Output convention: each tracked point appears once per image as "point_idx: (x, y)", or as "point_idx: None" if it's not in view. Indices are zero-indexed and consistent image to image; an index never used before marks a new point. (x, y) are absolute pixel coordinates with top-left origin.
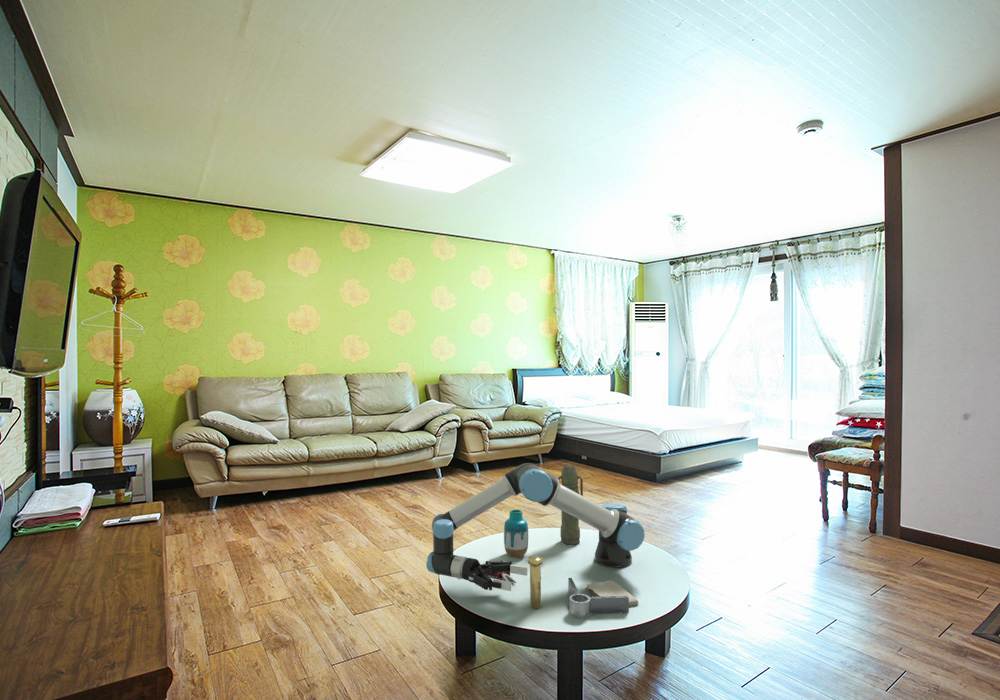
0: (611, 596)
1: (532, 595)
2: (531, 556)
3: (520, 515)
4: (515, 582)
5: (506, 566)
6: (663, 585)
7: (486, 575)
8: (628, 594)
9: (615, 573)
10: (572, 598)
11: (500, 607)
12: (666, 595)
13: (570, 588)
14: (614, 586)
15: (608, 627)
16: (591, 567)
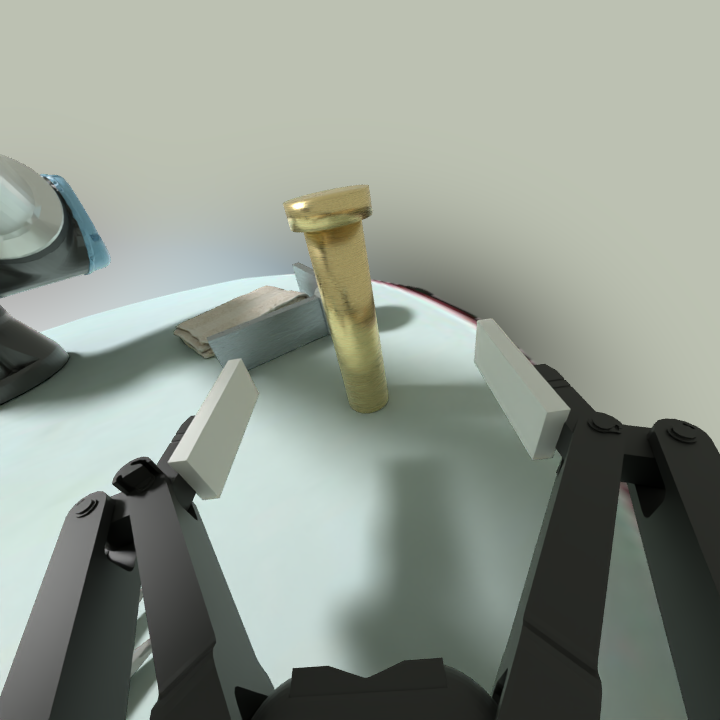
0: (305, 271)
1: (382, 358)
2: (301, 202)
3: None
4: (139, 597)
5: (179, 507)
6: (185, 299)
7: (564, 541)
8: (252, 292)
9: (107, 354)
10: None
11: (471, 510)
12: (227, 288)
13: (251, 344)
14: (215, 312)
15: (378, 286)
16: (37, 403)
